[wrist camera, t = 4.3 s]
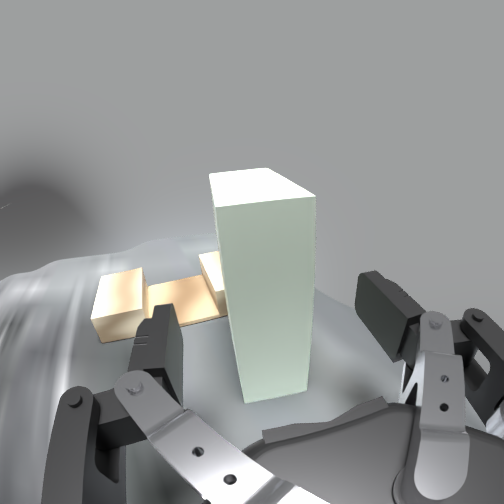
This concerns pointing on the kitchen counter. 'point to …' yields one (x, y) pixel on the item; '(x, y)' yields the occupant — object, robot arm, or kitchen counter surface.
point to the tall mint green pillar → (267, 277)
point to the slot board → (157, 299)
